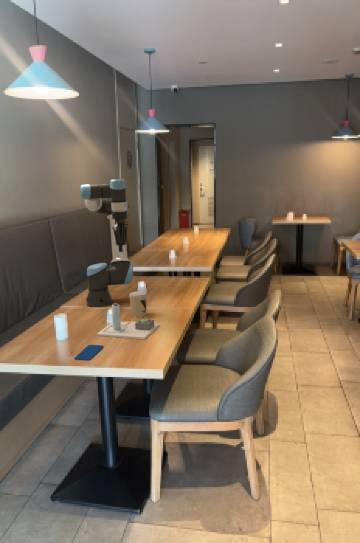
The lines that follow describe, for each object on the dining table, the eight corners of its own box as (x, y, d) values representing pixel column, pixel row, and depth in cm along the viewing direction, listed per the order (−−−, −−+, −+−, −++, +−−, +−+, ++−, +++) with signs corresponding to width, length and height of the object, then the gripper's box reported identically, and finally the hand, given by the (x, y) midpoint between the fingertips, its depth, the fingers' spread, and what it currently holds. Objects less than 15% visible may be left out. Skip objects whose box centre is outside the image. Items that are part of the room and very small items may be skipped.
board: (97, 335, 211) (96, 327, 210) (115, 322, 229) (115, 314, 228) (144, 339, 203) (144, 331, 203) (159, 325, 222) (159, 317, 221)
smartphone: (73, 358, 184) (88, 344, 198) (73, 361, 184) (88, 346, 198) (89, 359, 182) (104, 345, 196) (90, 362, 182) (104, 347, 196)
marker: (112, 330, 214) (110, 304, 212) (115, 327, 218) (113, 302, 215) (119, 330, 213) (117, 304, 211) (122, 328, 217) (120, 302, 214)
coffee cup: (145, 317, 235) (143, 295, 232) (127, 317, 237) (126, 295, 234) (149, 312, 244) (148, 291, 241) (133, 312, 246) (132, 290, 243)
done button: (139, 326, 215) (139, 321, 215) (142, 323, 219) (142, 318, 218) (147, 327, 214) (146, 321, 214) (150, 324, 218) (149, 319, 217)
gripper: (120, 212, 215) (123, 260, 220) (131, 209, 227) (134, 255, 232) (106, 212, 217) (109, 260, 222) (118, 210, 229) (121, 255, 234)
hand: (122, 257), depth 227 cm, fingers closed
